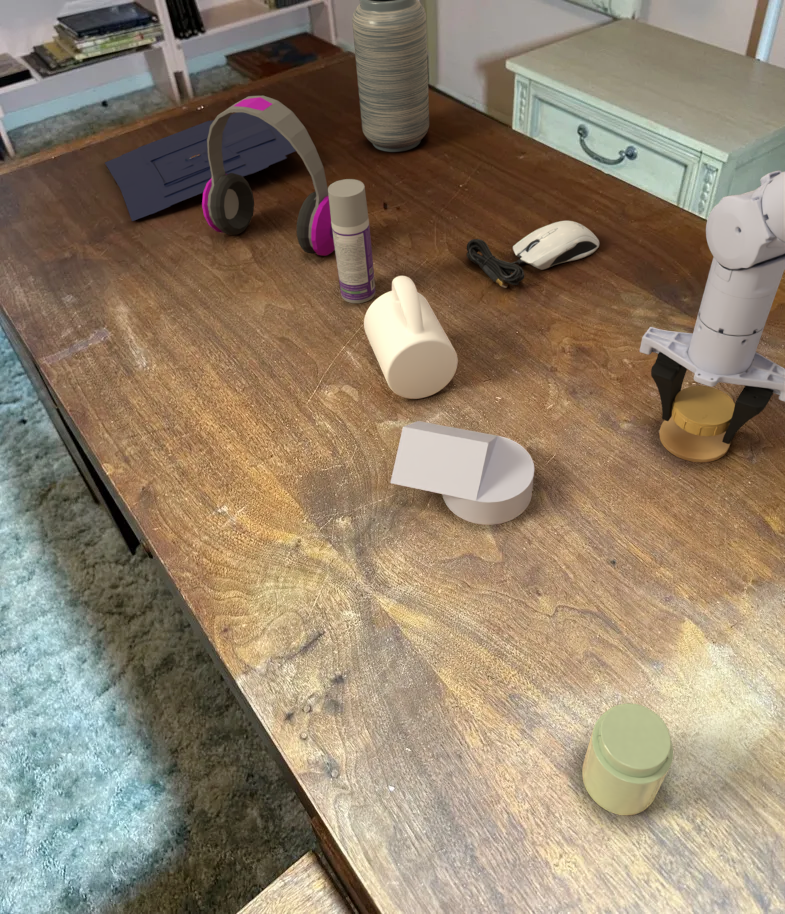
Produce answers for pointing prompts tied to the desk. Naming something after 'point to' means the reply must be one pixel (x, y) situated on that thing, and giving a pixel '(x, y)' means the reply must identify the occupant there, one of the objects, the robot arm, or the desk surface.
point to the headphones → (233, 197)
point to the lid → (702, 410)
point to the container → (352, 240)
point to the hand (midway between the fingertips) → (698, 425)
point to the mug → (409, 342)
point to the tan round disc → (691, 443)
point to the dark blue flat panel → (193, 162)
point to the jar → (627, 759)
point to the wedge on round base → (466, 471)
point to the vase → (392, 72)
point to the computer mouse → (536, 251)
